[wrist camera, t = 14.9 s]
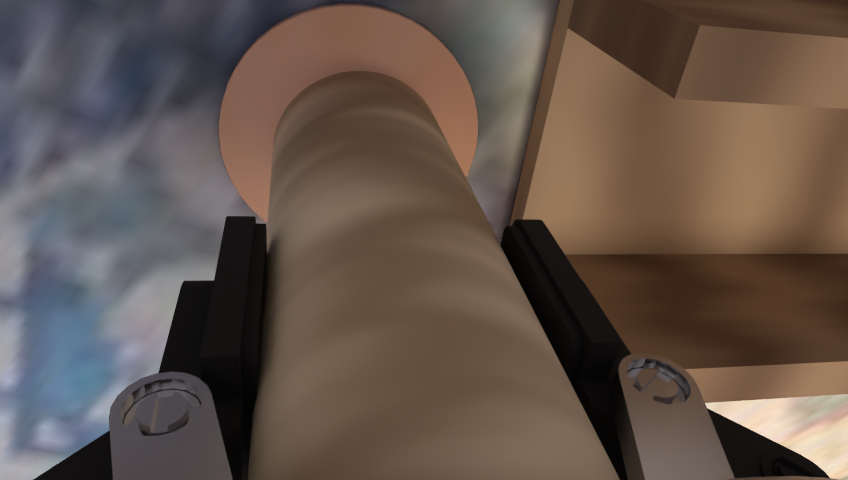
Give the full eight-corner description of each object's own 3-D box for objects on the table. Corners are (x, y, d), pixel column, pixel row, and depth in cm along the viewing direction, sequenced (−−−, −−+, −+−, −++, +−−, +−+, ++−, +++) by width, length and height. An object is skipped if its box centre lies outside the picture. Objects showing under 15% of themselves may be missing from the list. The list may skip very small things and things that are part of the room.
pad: (493, 14, 18) (498, 19, 17) (454, 239, 22) (458, 248, 22) (211, -10, 16) (208, -5, 16) (228, 239, 20) (226, 249, 20)
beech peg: (451, 76, 17) (850, 667, 5) (430, 225, 20) (652, 853, 7) (271, 64, 16) (189, 785, 4) (274, 224, 19) (232, 953, 6)
